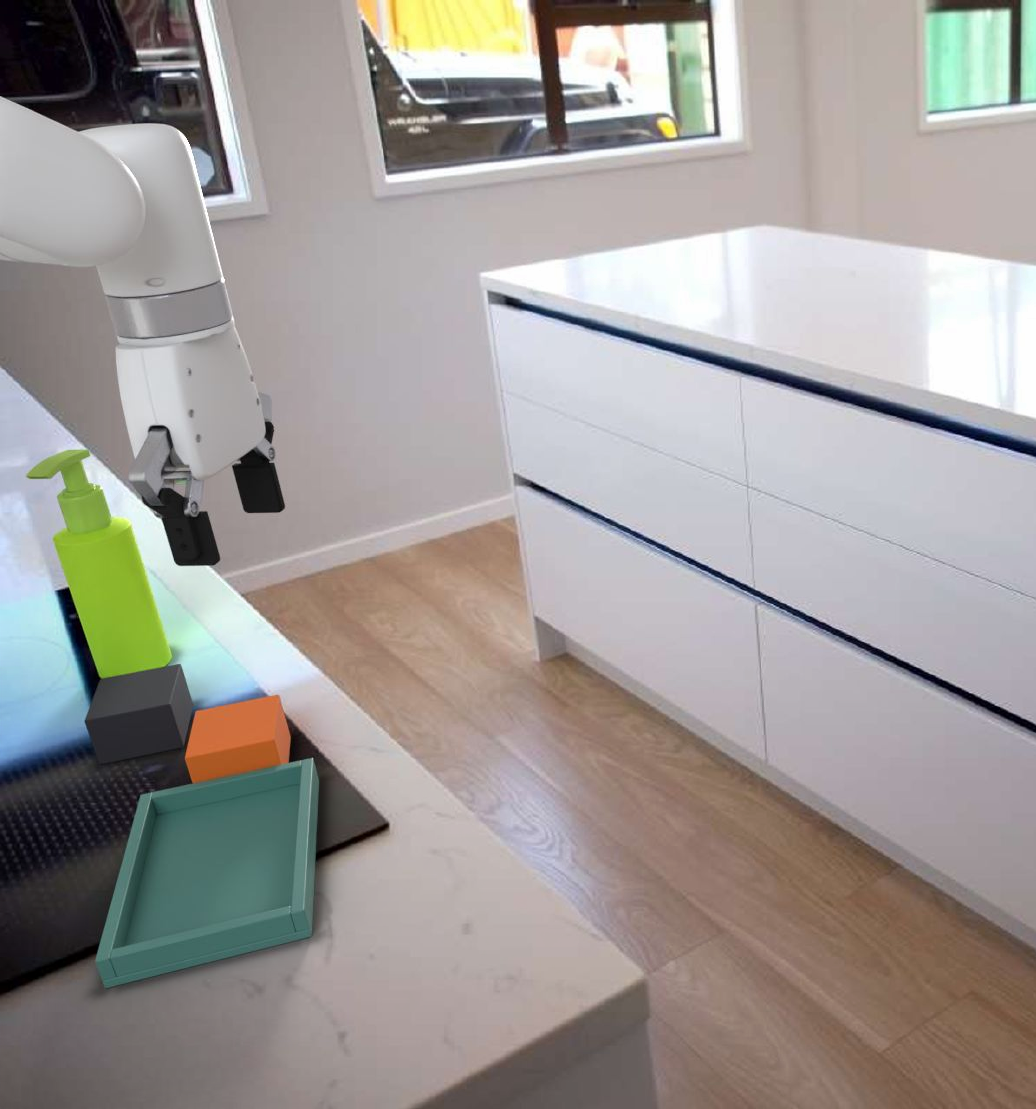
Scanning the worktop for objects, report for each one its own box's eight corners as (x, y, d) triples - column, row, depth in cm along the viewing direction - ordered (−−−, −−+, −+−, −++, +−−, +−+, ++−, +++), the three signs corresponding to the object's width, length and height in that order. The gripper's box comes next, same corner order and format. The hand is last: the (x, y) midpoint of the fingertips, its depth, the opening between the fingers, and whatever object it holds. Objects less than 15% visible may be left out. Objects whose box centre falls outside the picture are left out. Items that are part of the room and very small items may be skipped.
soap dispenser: (76, 687, 109) (0, 470, 101) (126, 648, 115) (58, 441, 107) (138, 688, 108) (67, 469, 100) (185, 649, 114) (121, 440, 106)
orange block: (198, 804, 92) (184, 758, 90) (208, 754, 98) (195, 710, 96) (286, 785, 93) (273, 739, 92) (291, 737, 99) (279, 693, 98)
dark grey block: (99, 765, 97) (83, 720, 96) (114, 720, 103) (100, 678, 102) (183, 747, 99) (170, 703, 97) (193, 704, 105) (180, 663, 103)
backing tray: (104, 989, 75) (94, 961, 74) (148, 818, 90) (140, 794, 90) (311, 936, 78) (304, 909, 77) (319, 781, 94) (313, 757, 93)
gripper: (188, 286, 96) (244, 494, 103) (41, 347, 80) (118, 588, 87) (282, 282, 95) (331, 493, 102) (152, 343, 80) (220, 586, 87)
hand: (233, 536), depth 95 cm, fingers open, 9 cm apart
